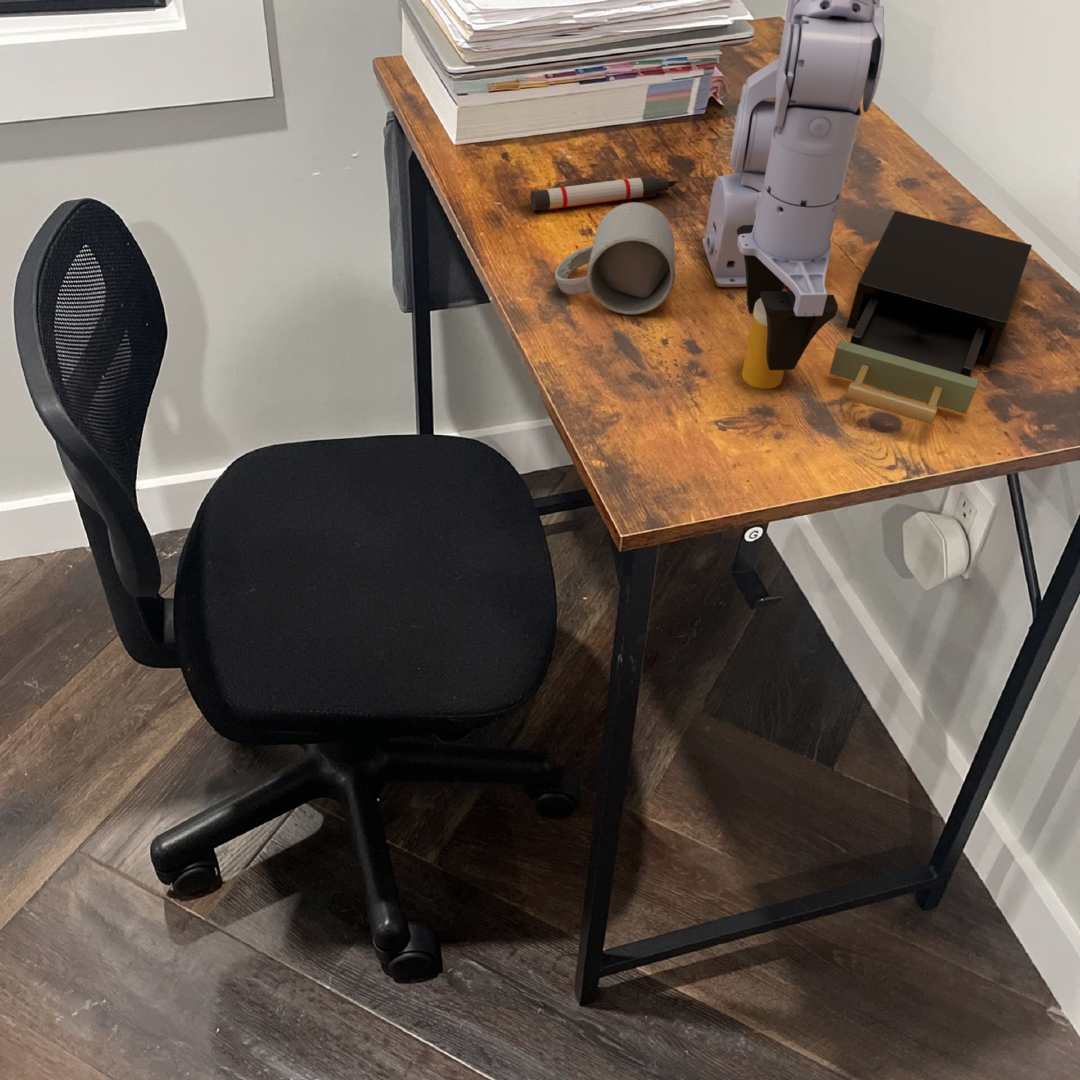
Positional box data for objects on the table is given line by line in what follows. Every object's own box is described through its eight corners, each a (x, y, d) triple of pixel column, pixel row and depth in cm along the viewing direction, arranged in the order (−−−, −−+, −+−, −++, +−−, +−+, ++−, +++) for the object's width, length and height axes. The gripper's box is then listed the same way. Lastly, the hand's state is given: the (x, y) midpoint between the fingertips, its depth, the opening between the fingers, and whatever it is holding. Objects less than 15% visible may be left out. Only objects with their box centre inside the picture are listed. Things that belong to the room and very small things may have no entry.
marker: (535, 215, 113) (535, 197, 112) (529, 205, 114) (530, 187, 113) (678, 196, 116) (681, 178, 115) (671, 187, 118) (674, 169, 116)
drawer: (955, 445, 89) (966, 418, 87) (814, 402, 93) (822, 375, 91) (993, 333, 100) (1003, 306, 98) (866, 298, 103) (873, 271, 101)
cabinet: (989, 367, 98) (1006, 322, 95) (846, 326, 102) (858, 282, 98) (1015, 287, 107) (1032, 244, 103) (883, 252, 110) (895, 210, 107)
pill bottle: (732, 372, 97) (745, 303, 91) (763, 359, 98) (777, 290, 93) (760, 395, 95) (775, 325, 90) (791, 380, 96) (807, 311, 91)
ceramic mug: (670, 267, 107) (678, 193, 102) (670, 318, 102) (678, 242, 96) (558, 262, 108) (560, 187, 102) (552, 312, 102) (553, 236, 97)
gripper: (730, 140, 88) (706, 288, 98) (770, 241, 78) (739, 395, 88) (818, 139, 89) (786, 287, 99) (870, 239, 79) (828, 393, 89)
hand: (770, 338), depth 93 cm, fingers open, 7 cm apart
